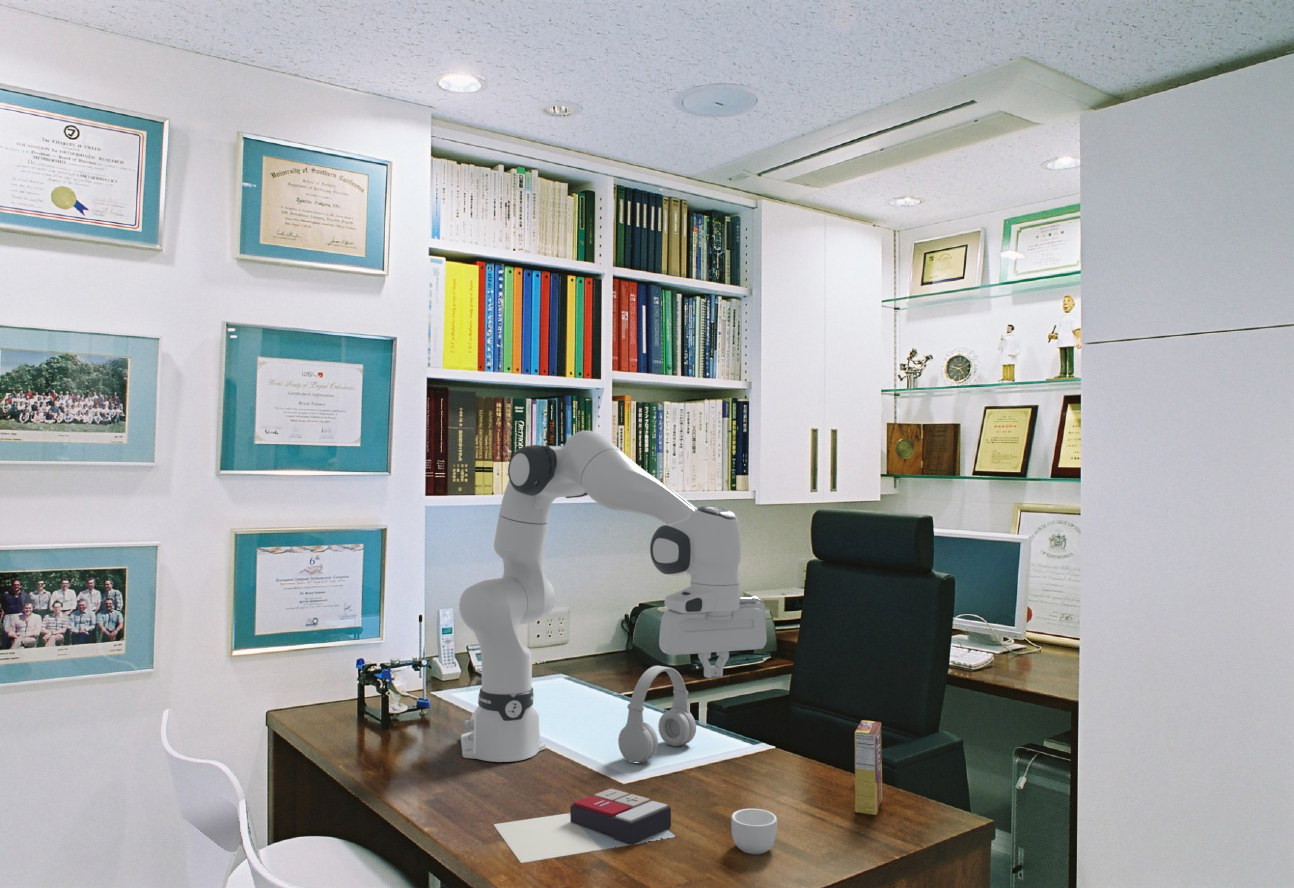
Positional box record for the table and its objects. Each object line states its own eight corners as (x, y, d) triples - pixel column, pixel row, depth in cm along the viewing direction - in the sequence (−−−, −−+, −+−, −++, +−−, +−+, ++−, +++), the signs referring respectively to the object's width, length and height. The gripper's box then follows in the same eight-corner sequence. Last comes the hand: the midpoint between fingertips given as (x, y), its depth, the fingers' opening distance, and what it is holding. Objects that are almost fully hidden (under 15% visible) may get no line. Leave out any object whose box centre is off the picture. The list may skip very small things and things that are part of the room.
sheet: (493, 825, 163) (493, 824, 163) (636, 804, 175) (636, 803, 175) (521, 863, 148) (521, 862, 148) (676, 837, 159) (676, 836, 159)
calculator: (610, 785, 173) (671, 801, 164) (611, 808, 173) (672, 826, 163) (569, 800, 165) (630, 819, 155) (569, 825, 165) (631, 844, 155)
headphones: (667, 739, 217) (669, 657, 217) (697, 746, 212) (699, 662, 212) (615, 760, 200) (617, 671, 201) (647, 768, 195) (648, 677, 196)
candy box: (860, 796, 181) (861, 719, 181) (882, 800, 179) (883, 721, 180) (852, 812, 173) (854, 730, 173) (876, 815, 171) (877, 733, 171)
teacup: (766, 862, 150) (767, 829, 150) (723, 852, 154) (724, 820, 154) (787, 840, 159) (787, 809, 159) (745, 831, 162) (746, 801, 163)
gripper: (755, 593, 170) (754, 668, 170) (656, 598, 161) (654, 676, 161) (774, 598, 164) (772, 676, 164) (671, 603, 156) (670, 685, 155)
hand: (713, 676), depth 162 cm, fingers closed
